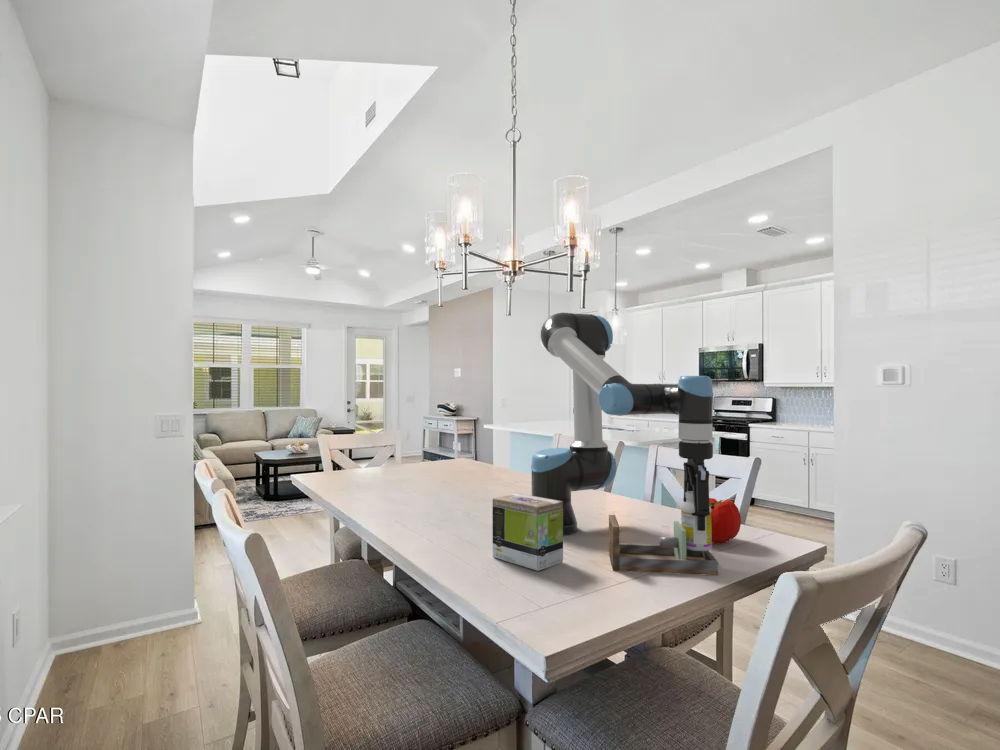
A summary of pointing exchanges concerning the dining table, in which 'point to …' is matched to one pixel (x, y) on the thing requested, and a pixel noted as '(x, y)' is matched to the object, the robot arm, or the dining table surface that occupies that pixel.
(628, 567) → the lane
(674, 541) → the pusher
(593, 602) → the dining table surface
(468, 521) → the dining table surface
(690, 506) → the supplement bottle
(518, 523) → the tea box
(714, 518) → the tomato
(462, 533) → the dining table surface
